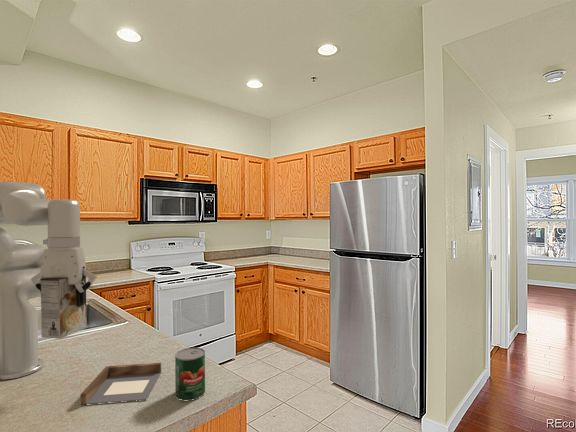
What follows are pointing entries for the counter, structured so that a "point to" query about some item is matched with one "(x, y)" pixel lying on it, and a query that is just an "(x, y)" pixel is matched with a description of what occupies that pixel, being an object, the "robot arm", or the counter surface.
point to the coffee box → (60, 309)
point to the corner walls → (117, 371)
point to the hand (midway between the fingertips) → (64, 305)
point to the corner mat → (125, 388)
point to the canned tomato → (190, 373)
